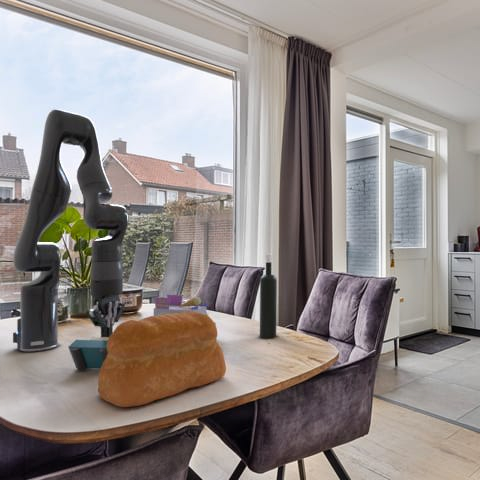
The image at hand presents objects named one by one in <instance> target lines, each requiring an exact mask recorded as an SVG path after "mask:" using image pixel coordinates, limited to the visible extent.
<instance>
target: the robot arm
mask: <svg viewBox="0 0 480 480" xmlns="http://www.w3.org/2000/svg"><path fill="white" fill-rule="evenodd" d="M63 144H64V145H68V146H69V145H70V146H75V147H79V148H80V149H81V151H82V153H83V157H82V159H81V160H80V163H79V165H78V167H77V169H76V175H75V177H76V181H77V184H78V187H79V190H80V192H81V194H82V200H83V201H82V202H83V203H82V204H83V212H82V213H83V214H82V216H83V217H82V219H83V222H84V224H85V225H86V226H87V227H88V228H89V229H91V230H94V231H108V234H107V235H106V236H105V237H102V238H98V239H95V240H93V241H92V242H91V264H90V275H89V277H90V279H89V280H90V288H89V289H90V290H89V291H90V296H93V297H94V299H93V301H92V305H93V307H92V308H91V309H87V310H86V315H87V317H88V318H89V320H90V321H91V323H92V325H94V327H99V328H100V337H110V336H111V334H112V333H113V332H114V329H113V327H114V326H115V323H118V322H119V320H120V318H121V315H122V313H123V311H124V309H125V307H126V303H125V302H121V300H120V299H121V298H120V295H122V294H123V292H124V291H123V287H124V285H123V284H124V280H123V279H124V278H123V277H124V273H123V272H124V271H123V269H124V268H123V261H122V258H123V257H122V253H123V248H122V247H123V244H124V243H123V242H124V239H125V235H126V234H127V233H126V232H127V230H128V226H129V223H130V214H129V212H128V210H127V208H126V207H125V206H123V205H119V204H109V203H107V202H109V201H110V200H111V199H112V198H113V191H112V188H111V185H110V182H109V180H108V178H107V176H106V173H105V170H104V166H103V161H102V157H101V150H100V144H99V140H98V134H97V130H96V127H95V124H94V122H93V121H92V120H91V118H90V117H88V116H86V115H82V114H79V113H74V112H70V111H66V110H64V109H60V108H59V109H58V108H54V109H52V110H50V111H49V112H48V114H47V116H46V119H45V123H44V129H43V136H42V143H41V150H40V157H39V160H38V161H39V162H38V165H37V170H36V173H35V177H34V180H33V184H32V189H31V192H30V196H29V202H28V207H27V211H26V215H25V220H24V221H23V222H24V223H23V226H22V228H21V231H20V234H19V236H18V240H17V242H16V245H15V248H14V251H13V257H12V264H13V267H14V269H15V270H16V271H17V272H19V273H39V275H38V276H37V277H36V278H35V279H33V280H31V281H29V282H27V283H24V284H22V285H21V286H20V292H19V293H20V318H18V319H17V320H16V323H17V324H16V325H17V326H16V331H15V332H12V343H13V344H16V350H17V351H20V352H25V353H29V352H41V351H48V350H52V349H55V348H57V347H58V346H59V341H58V340H59V335H58V334H59V320H58V319H59V302H58V301H59V294H58V293H59V286H60V281H61V280H60V278H61V277H60V276H61V264H62V263H61V261H62V254H61V250H60V249H61V248H60V247H59V245H58V244H57V243H55V242H51V241H49V242H47V241H46V242H44V241H43V242H41V241H40V239H41V237H42V235H43V234H44V232H45V231H46V230H47V229H48V228H49V227H50V226H51V225H52V224H53V223H54V222H56V221H57V220H58V219H59V218H60V217H61V216H62V215H63V214H64V213H65V212H66V210H67V209H68V205H69V202H70V198H71V194H72V184H71V180H70V179H69V177H68V174H67V172H66V170H65V168H64V166H63V163H62V161H61V151H62V145H63ZM106 203H107V204H106Z"/></svg>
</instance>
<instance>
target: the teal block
mask: <svg viewBox="0 0 480 480" xmlns="http://www.w3.org/2000/svg"><path fill="white" fill-rule="evenodd" d="M108 339H109V337H101V336H92V337H90V338H89V339H75V340H74V341H73V342H72V343H71V344H70V345H68V350H69V353H70V355H71V358H72V361H73V363H74V367H75V368H76V370H77V372H84V371H86V370H87V369H97V370H100V369H101V367H102V364H103V362H104V361H105V359H106V357H107V355H108V351H107V342H108Z"/></svg>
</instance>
